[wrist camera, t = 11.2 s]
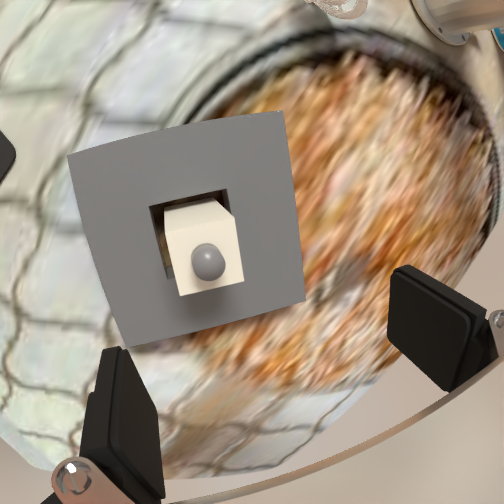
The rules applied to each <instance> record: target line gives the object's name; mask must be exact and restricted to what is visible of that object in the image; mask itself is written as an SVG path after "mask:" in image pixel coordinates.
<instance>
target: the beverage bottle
mask: <svg viewBox="0 0 504 504" xmlns="http://www.w3.org/2000/svg"><path fill="white" fill-rule="evenodd" d="M492 33H493V35H494V38H495V40H496V42H497V44H498V45H499V47H500V48H501V50H502V51H503V52H504V27H501V28H494V29H492Z"/></svg>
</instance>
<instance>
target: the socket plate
mask: <svg viewBox="0 0 504 504" xmlns="http://www.w3.org/2000/svg"><path fill="white" fill-rule="evenodd" d="M67 158H68V164H69V168H70V173H71V178H72V182H73V187H74V191H75V195H76V199H77V203H78V207H79V211H80V215H81V219H82V222H83V226H84V230H85V233H86V237H87V240H88V243H89V247H90V250H91V253H92V256H93V260H94V263H95V266H96V269H97V272H98V275H99V278H100V281H101V283H102V286H103V289H104V292H105V295H106V297H107V300H108V303H109V305H110V308H111V311H112V313H113V316H114V318H115V321H116V323H117V326H118V328H119V331H120V333H121V336H122V338H123V340H124V343H125V345H126V347H127V348H128V347H132V346H137V345H141V344H146V343H150V342H154V341H159V340H163V339H167V338H171V337H176V336H180V335H184V334H188V333H192V332H196V331H200V330H204V329H208V328H211V327H215V326H219V325H223V324H227V323H230V322H234V321H238V320H241V319H245V318H248V317H252V316H256V315H259V314H263V313H266V312H270V311H273V310H276V309H280V308H283V307H287V306H290V305H293V304H296V303H300V302H303V301H306V297H305V286H304V275H303V265H302V255H301V246H300V236H299V227H298V219H297V210H296V202H295V194H294V186H293V178H292V171H291V163H290V156H289V149H288V142H287V135H286V129H285V122H284V116H283V110H282V111H272V112H263V113H255V114H247V115H240V116H233V117H226V118H220V119H214V120H208V121H202V122H197V123H191V124H186V125H181V126H176V127H171V128H167V129H162V130H158V131H153V132H149V133H145V134H141V135H137V136H133V137H129V138H125V139H121V140H117V141H114V142H110V143H106V144H103V145H99V146H96V147H93V148H89V149H86V150H83V151H80V152H76V153H73V154H70V155H67ZM217 190H222V196H223V201H224V207H225V209H226V210H227V211H228V212H229V213H230V214H231V215H232V216H233V217H234V218H235V225H236V231H237V238H238V244H239V251H240V257H241V264H242V270H243V276H244V281H243V282H239V283H235V284H230V285H226V286H222V287H218V288H213V289H209V290H205V291H200V292H196V293H192V294H187V295H183V296H180V294H179V290H178V286H177V282H176V278H175V274H174V270H173V266H170V267H166V264H165V260H164V256H163V252H162V248H161V245H160V241H159V237H158V233H157V229H156V224H155V220H154V216H153V212H152V207H151V205H155V204H160V203H164V202H168V201H172V200H176V199H181V198H185V197H189V196H194V195H198V194H203V193H207V192H212V191H217Z"/></svg>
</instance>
